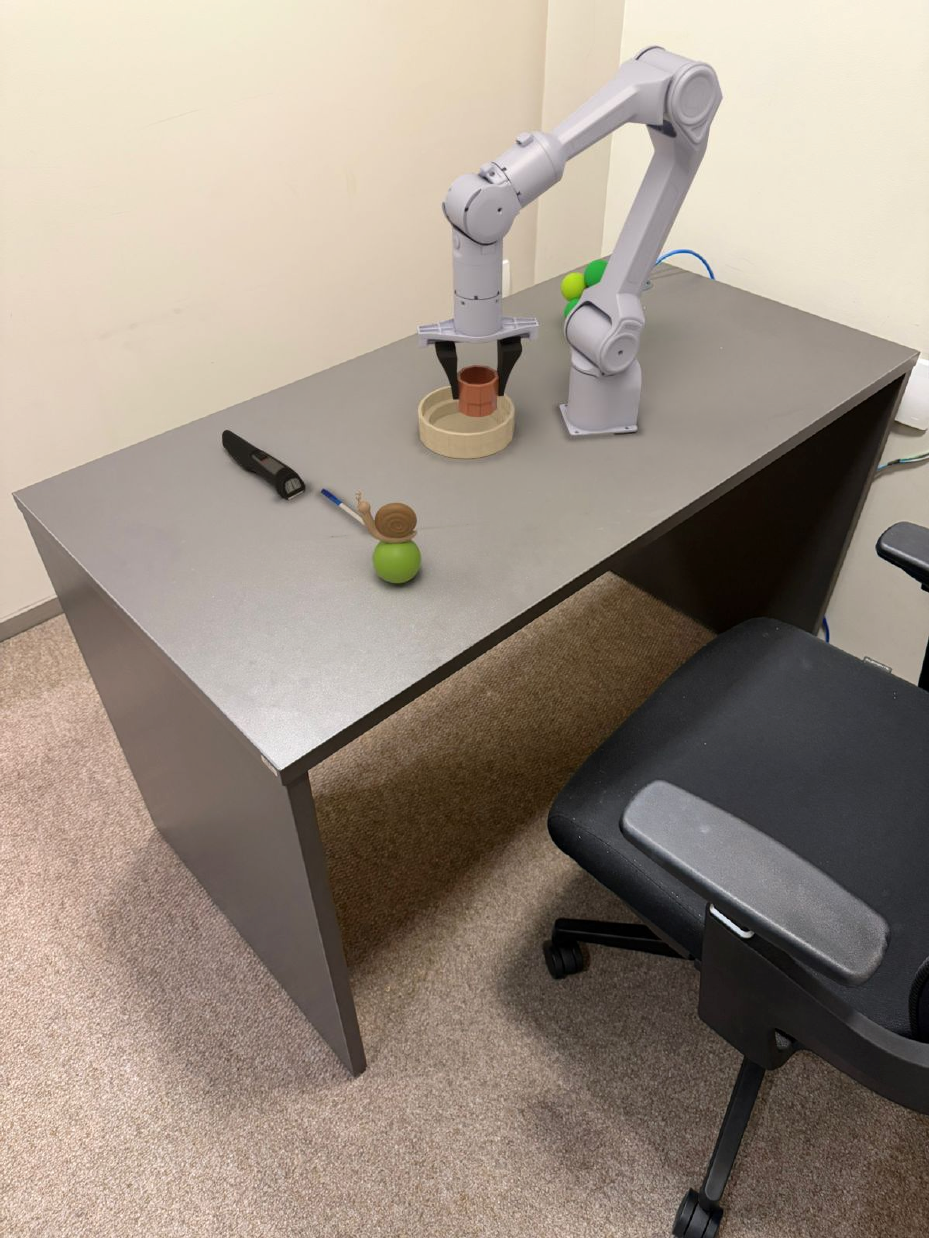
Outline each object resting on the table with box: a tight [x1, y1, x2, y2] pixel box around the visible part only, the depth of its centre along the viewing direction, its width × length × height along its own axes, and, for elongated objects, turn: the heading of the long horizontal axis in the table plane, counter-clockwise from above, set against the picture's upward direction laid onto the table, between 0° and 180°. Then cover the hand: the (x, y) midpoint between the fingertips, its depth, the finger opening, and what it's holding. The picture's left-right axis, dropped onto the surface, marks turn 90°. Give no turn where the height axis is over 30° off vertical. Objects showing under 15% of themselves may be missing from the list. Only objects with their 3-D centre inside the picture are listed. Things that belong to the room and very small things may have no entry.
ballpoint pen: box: [320, 488, 364, 525], centre depth 107 cm, size 10×1×1 cm, turn 43°
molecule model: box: [560, 259, 608, 321], centre depth 135 cm, size 9×9×9 cm
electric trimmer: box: [221, 429, 306, 500], centre depth 113 cm, size 4×16×3 cm, turn 43°
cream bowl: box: [417, 385, 516, 460], centre depth 118 cm, size 13×13×4 cm
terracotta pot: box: [457, 364, 499, 417], centre depth 109 cm, size 5×5×4 cm
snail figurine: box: [355, 490, 422, 584], centre depth 94 cm, size 5×6×12 cm
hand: (477, 394), depth 110 cm, fingers closed on terracotta pot, 5 cm apart
